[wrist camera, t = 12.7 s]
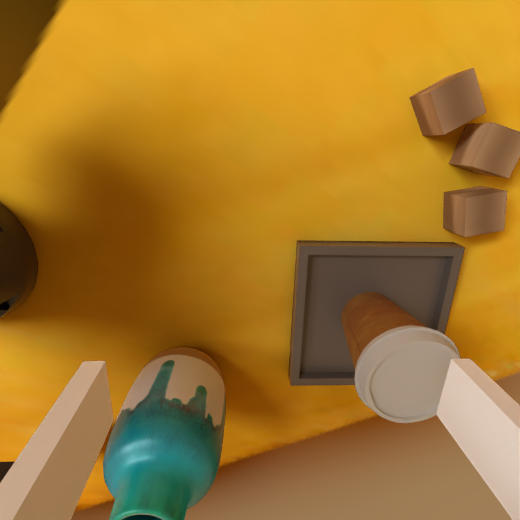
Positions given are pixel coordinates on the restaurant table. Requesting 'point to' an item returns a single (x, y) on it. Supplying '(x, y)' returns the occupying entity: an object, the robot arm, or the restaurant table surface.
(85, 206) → the restaurant table surface
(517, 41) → the restaurant table surface
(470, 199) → the cube
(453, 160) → the cube
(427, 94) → the cube
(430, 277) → the tray
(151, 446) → the vase
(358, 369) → the disposable coffee cup
